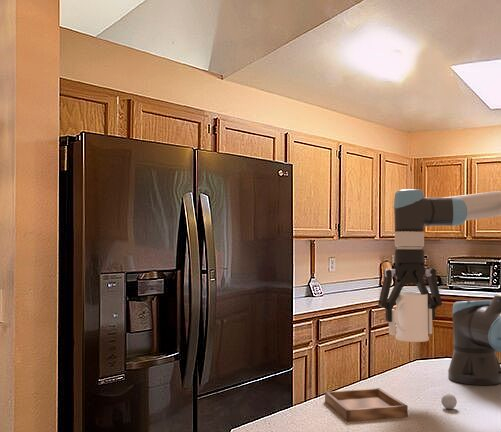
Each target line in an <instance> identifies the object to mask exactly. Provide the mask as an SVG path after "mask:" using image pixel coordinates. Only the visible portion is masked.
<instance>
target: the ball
mask: <svg viewBox="0 0 501 432" xmlns="http://www.w3.org/2000/svg"><path fill="white" fill-rule="evenodd" d="M457 402H458V401H457V398H456V396H455V395H454V394H451V393H445V394H444V395H442V397H441V404H442V406H443V407H444V408H445V409H447V410H452V409H454V408H455V407H456V406H457Z"/></svg>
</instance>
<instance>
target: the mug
mask: <svg viewBox="0 0 501 432" xmlns="http://www.w3.org/2000/svg"><path fill="white" fill-rule="evenodd" d="M394 310H395V322H396V335H395V339H396V340H397V341H401V342H407V343H408V342H409V343H421V342H422V343H423V342H428V341H429V340H430V337H429V334H428V295H427V294H425V295H421V293H420V292H409V291H408V292H407V291H405V292H403V291H402V292H400V294H399V296H398V298H397V300H396V302H395V309H394Z"/></svg>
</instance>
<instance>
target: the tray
mask: <svg viewBox="0 0 501 432" xmlns="http://www.w3.org/2000/svg"><path fill="white" fill-rule="evenodd" d="M324 402H325V403H326V405H328V406H329V407H331V409H333V410H334V411H335V412H336V413H337V414H338V415H340V417H342V418H343V419H344V420H345V421H346V422H355V421H356V422H358V421H369V420H370V421H371V420H379V419H380V420H381V419H394V418H405V417H406V418H407V417H409V413H408V412H409V409H408V408H409V407H408V405H407V404H405V403H404V402H402V401H400V400H399V399H398V398H396V397H394V396H393V395H391V394H390V393H388V392H386V391H385V390H383V389H381V388H380V387H377V388H362V389H350V390H347V389H346V390H335V391H324Z"/></svg>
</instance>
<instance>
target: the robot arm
mask: <svg viewBox="0 0 501 432" xmlns="http://www.w3.org/2000/svg"><path fill="white" fill-rule="evenodd" d="M393 209H394V210H393V212H394V213H393V214H394V247H395V248H396V249H395V250H394V263H395V265H394V268H392V269H387V268H386V269H383V280H382V281H383V282H382V286H381V291H380V294H379V299H378V303H377V306H378V307H381V308H383V309H384V310H385V322H388V334H389V335H390V336H396V322H395V310H396V309H394V307H395V305H396V300H397V298H398V296H399V294H400V293H402V292H401V291H402V290H403V288H404V287H405V285H410V284H415V286H416V287H417V289H418V291H419V293H421V295H425V294H427V295H428V335H432V334H433V321H434V322H435V320H436V309H437V308H438V307H439V306H440V307H441V306H442V305H443V301H442V298H441V297H442V296H441V293H440V289H439V286H438V282H437V279H436V278H437V270H436V269H435V268H426V266H425V250H424V247H425V230H424V229H425V227H440V226H441V227H446V226H448V227H449V226H450V227H453V226H461V225H463V224H464V223H465V221H474V220H483V219H488V218H489V219H490V218H497V217H498V218H499V217H501V190H498V191H497V190H496V191H486V192H478V193H471V194H470V193H469V194H463V195H453V196H445V197H426V196H425V194H424V191H423V190H422V189H415V188H414V189H399V190H398V189H397V190H396V191H395V193H394V198H393ZM424 275H425V276H426V278H427V282H428V286H429V289H428V288H427V286H426V283H425V280H424V278H423V277H424ZM394 276H396V277H397V278H396V280H395V282H394V286H393V288H392V291H391V292H390V290H391V287H392V286H391V285H392V282H393V278H394ZM429 290H430V292H429ZM451 316H452V330H453V331H452V332H453V333H452V334H453V353H452V357H451V359H450V363H449V368H448V370H447V372H448V374H447V375H448V379H449V380H450V381H453V382H454V383H460V384H464V385H472V386H492V385H498V384H501V364H500V361H499V358H498V356H497V352H498V353H500V354H501V292H500V293H497V294H495V295H493V298H492V299H483V300H465V301H464V300H462V301H455V302H454V303H453V305H452V311H451Z"/></svg>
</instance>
